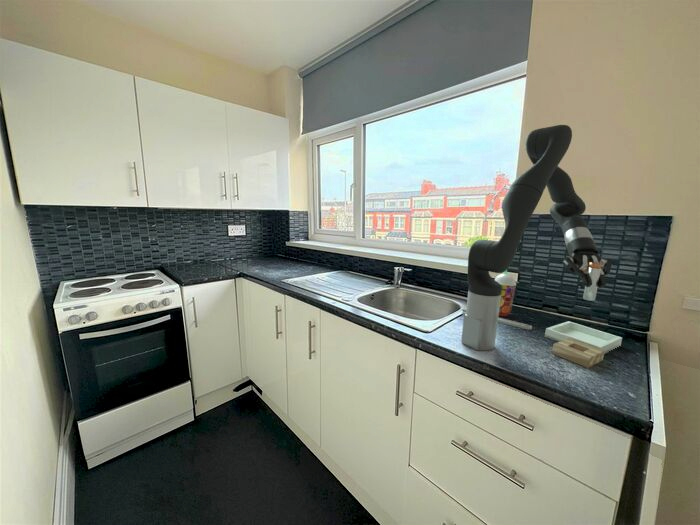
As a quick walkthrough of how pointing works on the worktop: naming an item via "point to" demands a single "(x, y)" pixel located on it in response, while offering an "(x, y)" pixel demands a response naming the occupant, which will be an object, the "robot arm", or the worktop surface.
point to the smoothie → (506, 293)
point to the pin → (594, 276)
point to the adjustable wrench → (509, 322)
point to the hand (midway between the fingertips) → (595, 286)
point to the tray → (583, 336)
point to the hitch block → (578, 352)
